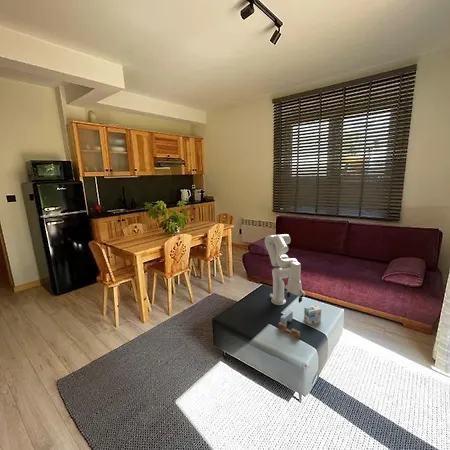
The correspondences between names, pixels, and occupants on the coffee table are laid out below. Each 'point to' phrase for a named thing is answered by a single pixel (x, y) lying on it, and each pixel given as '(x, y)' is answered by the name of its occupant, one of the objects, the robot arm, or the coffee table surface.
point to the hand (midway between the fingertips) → (294, 299)
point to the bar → (287, 317)
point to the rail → (291, 332)
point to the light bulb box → (312, 314)
